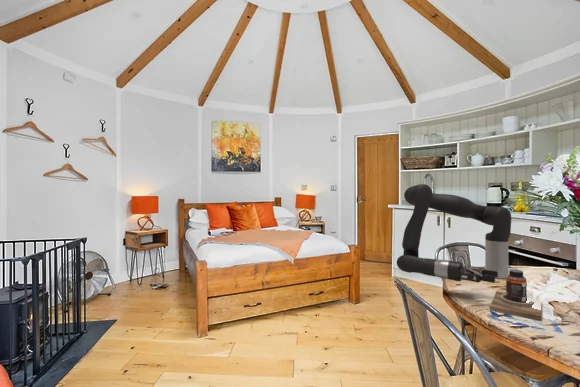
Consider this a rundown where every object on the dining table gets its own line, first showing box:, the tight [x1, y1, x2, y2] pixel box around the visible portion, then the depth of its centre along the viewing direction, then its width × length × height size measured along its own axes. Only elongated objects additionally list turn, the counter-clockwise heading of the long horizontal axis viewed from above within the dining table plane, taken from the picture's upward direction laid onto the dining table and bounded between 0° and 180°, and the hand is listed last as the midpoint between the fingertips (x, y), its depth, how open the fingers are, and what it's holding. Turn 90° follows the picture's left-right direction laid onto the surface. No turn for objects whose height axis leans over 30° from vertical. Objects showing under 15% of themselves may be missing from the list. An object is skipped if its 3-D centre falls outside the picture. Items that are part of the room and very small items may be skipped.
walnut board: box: [489, 290, 543, 322], centre depth 112 cm, size 20×14×3 cm
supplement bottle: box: [505, 269, 528, 303], centre depth 112 cm, size 6×6×11 cm
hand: (496, 277), depth 115 cm, fingers open, 8 cm apart
